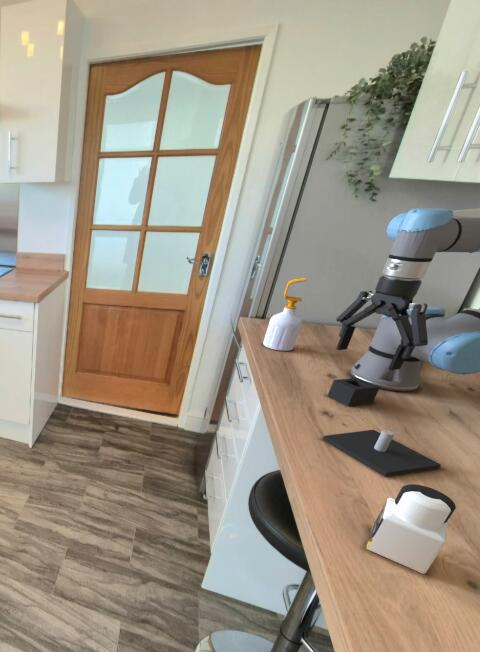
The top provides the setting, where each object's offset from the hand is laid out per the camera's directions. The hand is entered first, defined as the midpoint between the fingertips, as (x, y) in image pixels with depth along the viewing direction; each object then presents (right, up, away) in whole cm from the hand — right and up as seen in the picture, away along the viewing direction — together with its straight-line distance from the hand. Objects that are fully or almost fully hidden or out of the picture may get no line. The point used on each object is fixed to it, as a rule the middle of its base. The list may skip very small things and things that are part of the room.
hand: (366, 358), depth 112 cm
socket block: (+1, -11, +6) cm, 12 cm away
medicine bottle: (-33, -34, -41) cm, 63 cm away
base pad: (-13, -22, -17) cm, 30 cm away
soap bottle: (+7, +6, +41) cm, 43 cm away
